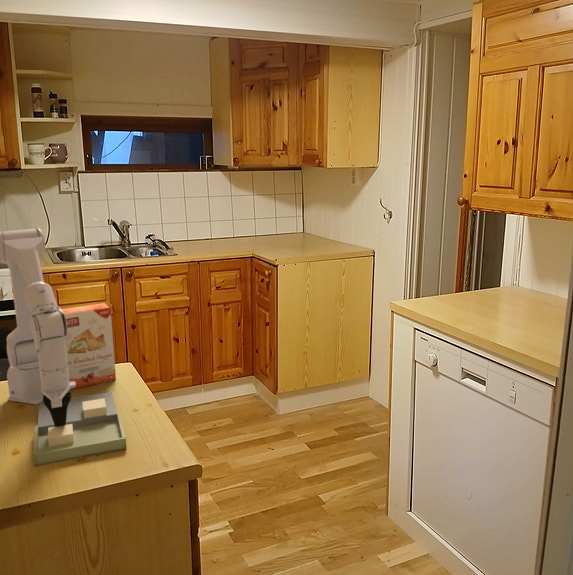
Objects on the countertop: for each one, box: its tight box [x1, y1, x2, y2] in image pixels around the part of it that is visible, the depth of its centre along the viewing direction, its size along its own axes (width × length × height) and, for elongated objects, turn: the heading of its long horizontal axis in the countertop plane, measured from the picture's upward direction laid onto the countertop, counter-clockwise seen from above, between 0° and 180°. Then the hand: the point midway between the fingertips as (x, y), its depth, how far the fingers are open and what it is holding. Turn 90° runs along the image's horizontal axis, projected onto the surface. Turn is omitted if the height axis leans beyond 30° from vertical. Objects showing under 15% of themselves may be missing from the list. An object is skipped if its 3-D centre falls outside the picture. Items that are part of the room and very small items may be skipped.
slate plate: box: [37, 391, 118, 434], centre depth 139 cm, size 14×17×2 cm
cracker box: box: [61, 302, 117, 390], centre depth 157 cm, size 14×6×21 cm, turn 122°
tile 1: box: [48, 424, 74, 447], centre depth 128 cm, size 5×5×2 cm
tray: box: [32, 411, 128, 467], centre depth 127 cm, size 14×18×2 cm
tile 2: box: [82, 398, 107, 419], centre depth 137 cm, size 5×5×2 cm
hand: (60, 424), depth 130 cm, fingers closed
